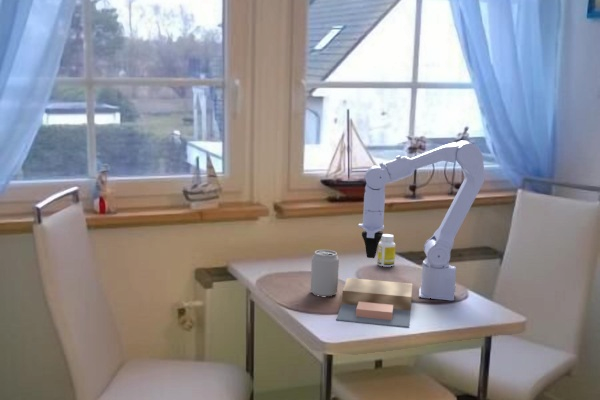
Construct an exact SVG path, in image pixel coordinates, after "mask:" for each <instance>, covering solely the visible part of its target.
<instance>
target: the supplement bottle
mask: <svg viewBox="0 0 600 400" xmlns="http://www.w3.org/2000/svg"><path fill="white" fill-rule="evenodd" d="M394 239H395V237H394V234H389V233H383V235H382V237H381V239H380V241H379V243H378V247H377V251H378V252H377V261H376V263H377V265H378V266H380V267H382V266H383V267H382V268H390V267H391V266H392V267H394V266H395V261H396V260H395V259H396V258H395V257H396V243H395V242H394Z"/></svg>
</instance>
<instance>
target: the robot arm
mask: <svg viewBox="0 0 600 400" xmlns="http://www.w3.org/2000/svg"><path fill="white" fill-rule="evenodd" d="M484 159H485V157H484V155H483V153H482V150H480V147H478V146H477V145H476V144H474V143H472V142H471V141H470V140H468V139H462V140H458V141H457V142H450V143H447V144H444V145H441V146H439V147H436V148H434V149H431V150H428V151H426V152H424V153H421V154H419V155H415V156H414V157H411V158H410V157H408V156H406V155H404V156H401V155H397V156H395V159H392V160H389V161H387V162H384V163H383V162H379V163H378V164H379V166H377V165H373V166H370V167H369V168H367V170H366V171H365V174H364V179H365V182H366V183H365V187H364V196H363V213H362V223H358V225H357V226H358V228H362V229H363V231H362V232H361V236H362V237H361V238H362V239H363V241H364V246H365V247H364V248H365V254H366V258H368V259H375V257H376V253H377V251H378V245H379V242H380V241H381V237H382V235H383V234H384V232H383V230H384V229H385V225H384V220H385V219H384V218H385V201H386V193H385V191H386V190H385V189H386V185H387V184H392V183H395V182H397V181H401V180H403V179H406V178H409V177H412V175H413V174H414V172H415V171H416V170H417V169H420V168H423V167H427V166H431V165H433V164H437V163H439V162H443V161H444V162H448V163H452V164H453V163H454V164H455V163H456V162H457V163H458V165H459V166H460V168H461V171H462V173H463V176H464V179H463V181H462V183H461V185H460V186H459V188H458V190H457V193H456V194H455V196H454V198H453V201H452V202H451V204H450V206H449V208H448V210H447V212H446V213H445V216H444V218H443V219H442V221H441V223H440V225H439V227H438V228H437V229H436V230H435V231H434V232H433V235H432V236H431V237H430V238H428V239H427V240H426V241H425V243H424V246H423V251H424V254H425V256H426V257H425V258H424V260H423V261H422V269H421V281H420V282H421V284H420V287H419V288H418V297H419V298H420V297H421V298H422V299H430V298H431V299H432V300H433V299H434V300H441V301H442V300H444V301H455V293H456V288H457V287H456V278H457V277H456V275H457V267H456V266H455V265H451V264H450V263H449V262H450V260H451V251H452V249H453V247H454V242H455V238H456V235H457V234H458V231H459V230H460V228H461V226H462V225H463V222H464V221H465V218H466V217H467V214H468V213H469V211H470V209H471V207H472V205H473V203H474V201H475V200H476V198H477V196H478V194H479V192H480V190H481V188H482V186H483V184H484V182H485V180H486V177H485V176H486V175H485V164H484V161H485V160H484Z"/></svg>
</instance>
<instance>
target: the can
mask: <svg viewBox="0 0 600 400" xmlns="http://www.w3.org/2000/svg"><path fill="white" fill-rule="evenodd" d="M339 264H340V258H339V256H338V253H337V251H334V250H331V249H318V250H315V251H314V254H313V255H312V256H311V273H310V289H309V290H310V292H311V293H312V294H313V295H314V294H315V295H314V296H316V295H319V296H331V297H333V296H332V295H334V296H335V294H337V293H338V287H339V270H340V269H339V268H340V267H339V266H340V265H339ZM319 296H318V297H319Z"/></svg>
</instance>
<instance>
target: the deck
mask: <svg viewBox="0 0 600 400" xmlns="http://www.w3.org/2000/svg"><path fill="white" fill-rule="evenodd" d="M341 294H342V297H341V305H342V304H348V305H358V302H369V303H379V304H390V305H393V309H400V310H410V311H411V306H412V298H411V297H412V294H413V283H411V282H410V283H409V282H401V281H400V282H398V281H386V280H377V279H365V278H354V277H347V278H346V280H345V283H344V286H343V288H342V293H341Z"/></svg>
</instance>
